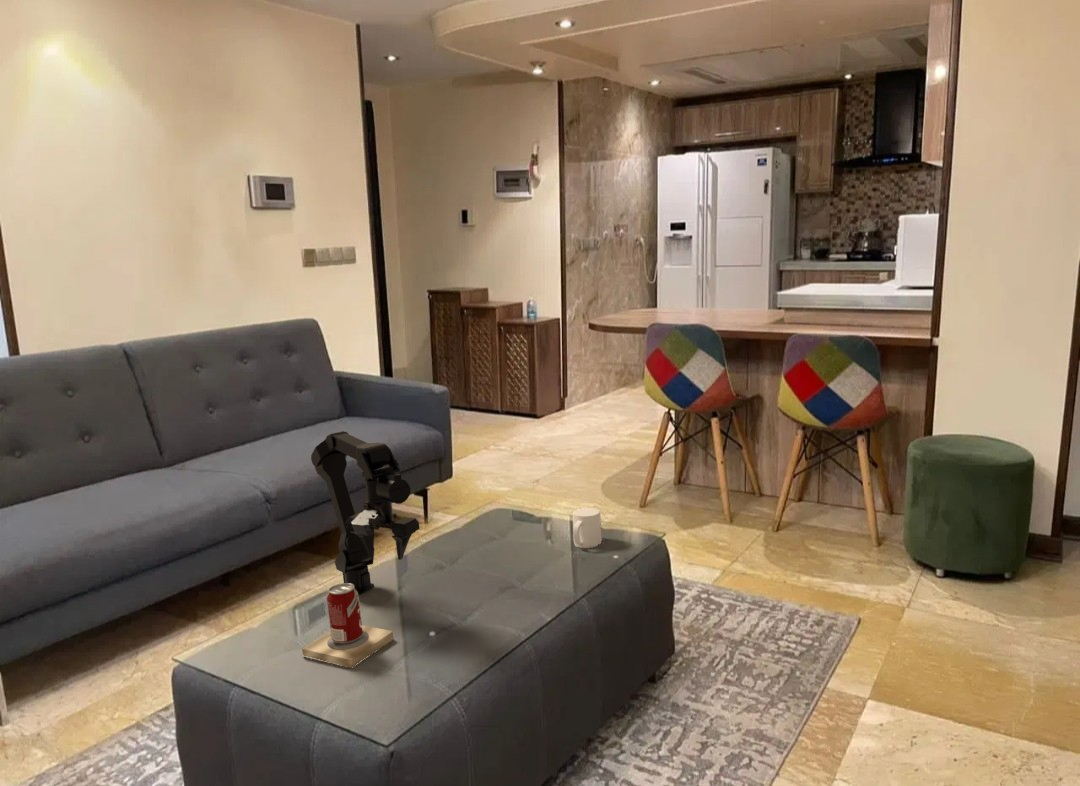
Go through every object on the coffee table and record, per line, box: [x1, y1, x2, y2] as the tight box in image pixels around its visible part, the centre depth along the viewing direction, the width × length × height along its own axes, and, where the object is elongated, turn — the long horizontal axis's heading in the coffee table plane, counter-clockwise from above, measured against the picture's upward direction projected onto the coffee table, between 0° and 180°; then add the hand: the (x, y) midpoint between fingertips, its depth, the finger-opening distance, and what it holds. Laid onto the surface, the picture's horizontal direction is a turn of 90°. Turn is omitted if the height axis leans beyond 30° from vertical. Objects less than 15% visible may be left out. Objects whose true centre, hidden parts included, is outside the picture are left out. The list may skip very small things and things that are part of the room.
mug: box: [572, 507, 603, 549], centre depth 233 cm, size 12×9×8 cm
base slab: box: [301, 625, 395, 669], centre depth 179 cm, size 14×14×2 cm
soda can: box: [326, 582, 363, 644], centre depth 178 cm, size 7×7×12 cm
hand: (385, 557), depth 198 cm, fingers open, 9 cm apart
